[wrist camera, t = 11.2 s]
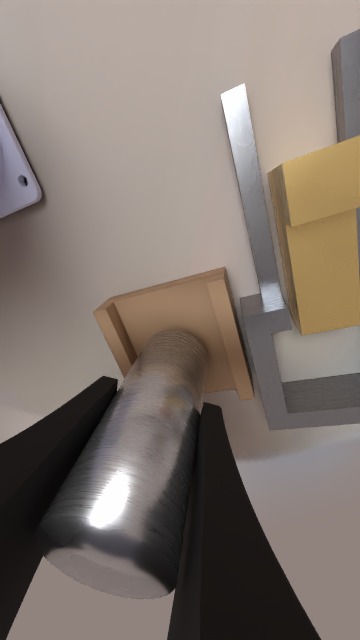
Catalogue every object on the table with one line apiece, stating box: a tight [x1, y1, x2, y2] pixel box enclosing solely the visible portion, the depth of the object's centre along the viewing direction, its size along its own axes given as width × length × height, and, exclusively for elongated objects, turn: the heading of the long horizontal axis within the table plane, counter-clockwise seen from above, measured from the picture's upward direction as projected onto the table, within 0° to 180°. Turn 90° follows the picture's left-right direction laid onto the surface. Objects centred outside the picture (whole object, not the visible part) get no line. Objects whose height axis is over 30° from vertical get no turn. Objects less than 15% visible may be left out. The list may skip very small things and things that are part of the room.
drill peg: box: [35, 329, 208, 599], centre depth 10 cm, size 4×4×8 cm
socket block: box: [221, 29, 360, 430], centre depth 11 cm, size 16×7×2 cm, turn 18°
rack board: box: [93, 267, 255, 400], centre depth 15 cm, size 7×7×2 cm
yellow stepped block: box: [268, 135, 360, 335], centre depth 11 cm, size 7×2×4 cm, turn 18°
